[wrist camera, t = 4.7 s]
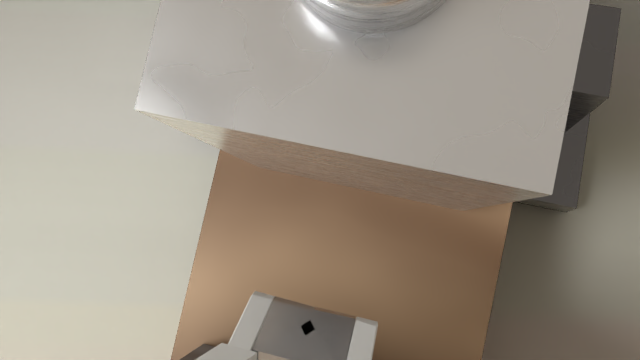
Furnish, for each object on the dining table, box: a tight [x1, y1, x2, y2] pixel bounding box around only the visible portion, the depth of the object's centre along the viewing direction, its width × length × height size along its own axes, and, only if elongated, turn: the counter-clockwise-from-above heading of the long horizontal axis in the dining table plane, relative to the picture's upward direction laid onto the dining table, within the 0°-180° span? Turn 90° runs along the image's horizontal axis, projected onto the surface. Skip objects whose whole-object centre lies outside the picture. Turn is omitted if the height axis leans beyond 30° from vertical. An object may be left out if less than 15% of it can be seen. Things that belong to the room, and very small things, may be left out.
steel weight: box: [134, 0, 590, 211], centre depth 12 cm, size 7×7×10 cm
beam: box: [171, 150, 513, 360], centre depth 17 cm, size 34×10×4 cm, turn 167°
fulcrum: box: [515, 4, 621, 212], centre depth 19 cm, size 8×16×6 cm, turn 77°
